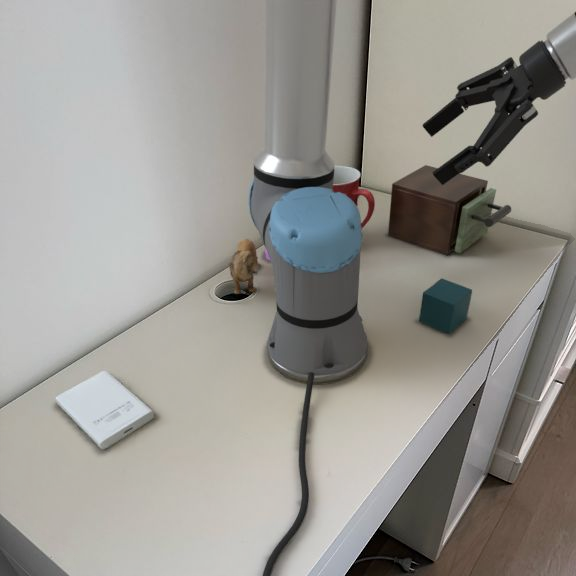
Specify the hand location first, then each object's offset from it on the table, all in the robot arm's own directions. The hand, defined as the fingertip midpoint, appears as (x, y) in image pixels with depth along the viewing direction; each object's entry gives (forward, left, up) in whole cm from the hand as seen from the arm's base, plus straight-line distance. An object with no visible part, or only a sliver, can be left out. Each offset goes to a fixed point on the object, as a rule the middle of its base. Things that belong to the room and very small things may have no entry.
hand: (431, 154), depth 92 cm
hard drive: (-62, +20, -19) cm, 68 cm away
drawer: (+7, -4, -18) cm, 19 cm away
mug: (-4, +14, -19) cm, 24 cm away
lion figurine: (-25, +22, -19) cm, 39 cm away
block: (-19, -12, -18) cm, 29 cm away
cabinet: (+8, 0, -18) cm, 20 cm away
